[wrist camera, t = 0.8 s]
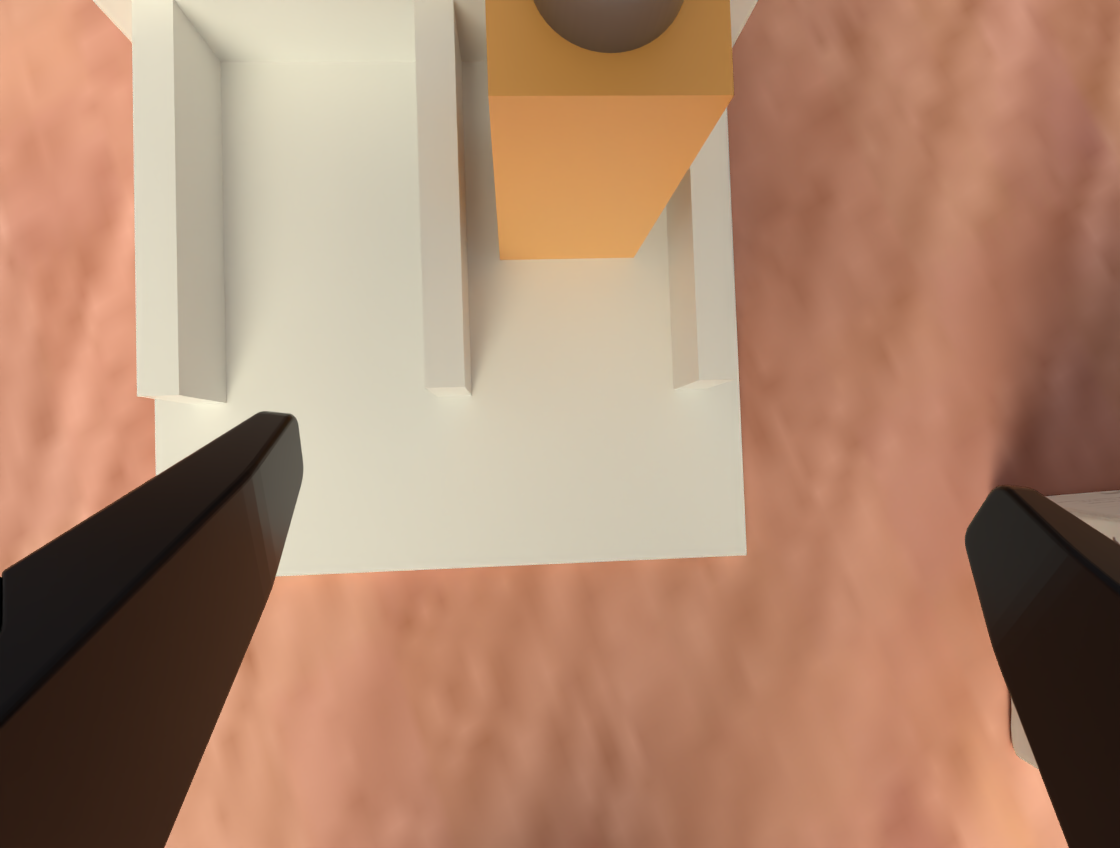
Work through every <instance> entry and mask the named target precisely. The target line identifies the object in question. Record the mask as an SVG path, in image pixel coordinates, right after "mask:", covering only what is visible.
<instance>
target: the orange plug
mask: <svg viewBox="0 0 1120 848" xmlns="http://www.w3.org/2000/svg"><path fill="white" fill-rule="evenodd" d="M485 9H486V41H487V72H488V99H489V113H490V127H491V141H492V155H493V169H494V183H495V197H496V211H497V225H498V239H499V253H500V260H530V259H585V258H634V256H635V255H636V253H637V252H638V250H639V248H640V247H641V245H642V243H643V242H644V240H645V239H646V237H647V235H648V234H649V232H650V231H651V229H652V227H653V226H654V224H655V222H656V221H657V219H658V218H659V216H660V214H661V213H662V211H663V209H664V208H665V206H666V205H667V203H668V201H669V200H670V198H671V197H672V195H673V193H674V192H675V190H676V188H677V187H678V185H679V184H680V182H681V180H682V179H683V177H684V175H685V174H686V172H687V171H688V169H689V167H690V166H691V164H692V162H693V161H694V159H695V158H696V156H697V154H698V153H699V151H700V150H701V148H702V146H703V145H704V143H705V141H706V140H707V138H708V137H709V135H710V133H711V132H712V130H713V128H714V127H715V125H716V124H717V122H718V120H719V119H720V117H721V115H722V114H723V112H724V111H725V109H726V107H727V106H728V104H729V103H730V101H731V99H732V98H733V96H734V84H733V61H732V38H731V16H730V0H485Z"/></svg>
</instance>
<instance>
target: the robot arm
mask: <svg viewBox="0 0 1120 848" xmlns="http://www.w3.org/2000/svg"><path fill="white" fill-rule="evenodd" d="M303 468H304V466H303V457H302V449H301V441H300V433H299V425H298V421H297V419H296V417H295V416H294V415H292V414H290V413H281V412H271V411H261V412H258V413H256V414H255V415H253V416H251V417H250V418H248V419H247V420H245V421H243V422H242V423H240V424H239V425H237V426H235V427H234V428H232V429H231V430H229V431H227V432H226V433H224V434H222V435H221V436H219V437H218V438H216V439H214V440H213V441H211V442H210V443H208V444H206V445H205V446H203V447H202V448H200V449H198V450H197V451H195V452H194V453H192V454H190V455H189V456H187V457H186V458H184V459H182V460H181V461H179V462H177V463H176V464H174V465H173V466H171V467H169V468H168V469H166V470H165V471H163V472H161V473H160V474H158V475H157V476H155V477H153V478H152V479H150V480H149V481H147V482H145V483H144V484H142V485H141V486H139V487H137V488H136V489H134V490H132V491H131V492H129V493H128V494H126V495H124V496H123V497H121V498H120V499H118V500H116V501H115V502H113V503H112V504H110V505H108V506H107V507H105V508H104V509H102V510H100V511H99V512H97V513H96V514H94V515H92V516H91V517H89V518H87V519H86V520H84V521H83V522H81V523H79V524H78V525H76V526H75V527H73V528H71V529H70V530H68V531H67V532H65V533H63V534H62V535H60V536H59V537H57V538H55V539H54V540H52V541H51V542H49V543H47V544H46V545H44V546H43V547H41V548H39V549H38V550H36V551H34V552H33V553H31V554H30V555H28V556H26V557H25V558H23V559H22V560H20V561H18V562H17V563H15V564H14V565H12V566H10V567H9V568H7V569H6V570H4V571H3V572H2V578H1V577H0V848H164V847H165V845H166V842H167V840H168V838H169V835H170V833H171V830H172V828H173V826H174V823H175V821H176V818H177V816H178V814H179V811H180V809H181V806H182V804H183V802H184V799H185V797H186V794H187V792H188V790H189V787H190V785H191V782H192V780H193V778H194V775H195V773H196V770H197V768H198V766H199V763H200V761H201V758H202V756H203V754H204V751H205V749H206V747H207V744H208V742H209V739H210V737H211V735H212V732H213V730H214V727H215V725H216V723H217V720H218V718H219V715H220V713H221V711H222V708H223V706H224V703H225V701H226V699H227V696H228V694H229V691H230V689H231V687H232V684H233V682H234V679H235V677H236V675H237V672H238V670H239V667H240V665H241V663H242V660H243V658H244V656H245V653H246V651H247V648H248V646H249V644H250V641H251V639H252V636H253V634H254V632H255V629H256V627H257V624H258V622H259V620H260V617H261V615H262V612H263V610H264V608H265V605H266V603H267V600H268V597H269V595H270V592H271V590H272V587H273V584H274V580H275V577H276V574H277V570H278V567H279V563H280V560H281V556H282V552H283V549H284V545H285V542H286V538H287V534H288V531H289V527H290V524H291V520H292V516H293V513H294V509H295V506H296V502H297V498H298V495H299V491H300V488H301V484H302V479H303ZM965 546H966V551H967V555H968V558H969V562H970V566H971V570H972V573H973V577H974V581H975V585H976V588H977V592H978V596H979V600H980V603H981V607H982V611H983V615H984V618H985V622H986V626H987V630H988V633H989V637H990V640H991V643H992V647H993V650H994V653H995V656H996V659H997V661H998V664H999V667H1000V670H1001V672H1002V675H1003V677H1004V680H1005V683H1006V685H1007V688H1008V691H1009V693H1010V696H1011V698H1012V701H1013V704H1014V706H1015V709H1016V711H1017V714H1018V717H1019V719H1020V722H1021V724H1022V727H1023V730H1024V732H1025V735H1026V737H1027V740H1028V743H1029V745H1030V748H1031V750H1032V753H1033V756H1034V758H1035V761H1036V763H1037V766H1038V769H1039V771H1040V774H1041V776H1042V779H1043V782H1044V784H1045V787H1046V789H1047V792H1048V795H1049V797H1050V800H1051V802H1052V805H1053V808H1054V810H1055V813H1056V815H1057V818H1058V821H1059V823H1060V826H1061V828H1062V831H1063V834H1064V836H1065V839H1066V841H1067V844H1068V847H1069V848H1120V545H1119V544H1118V543H1116V542H1115V541H1113V540H1112V539H1110V538H1109V537H1107V536H1105V535H1104V534H1102V533H1101V532H1099V531H1098V530H1096V529H1095V528H1093V527H1092V526H1090V525H1089V524H1087V523H1085V522H1084V521H1082V520H1081V519H1079V518H1078V517H1076V516H1075V515H1073V514H1072V513H1070V512H1068V511H1067V510H1065V509H1064V508H1062V507H1061V506H1059V505H1058V504H1056V503H1055V502H1053V501H1051V500H1050V499H1048V498H1047V497H1045V496H1044V495H1042V494H1041V493H1039V492H1038V491H1036V490H1034V489H1031V488H1028V487H1019V486H1009V485H1002V486H998V487H996V488H995V489H993V490H992V491H991V492H990V494H989V495H988V497H987V498H986V500H985V501H984V503H983V504H982V506H981V508H980V509H979V511H978V512H977V514H976V515H975V517H974V518H973V520H972V522H971V523H970V525H969V526H968V528H967V531H966V535H965Z"/></svg>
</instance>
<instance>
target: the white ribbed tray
mask: <svg viewBox="0 0 1120 848" xmlns="http://www.w3.org/2000/svg"><path fill="white" fill-rule="evenodd" d="M93 1H94V3H95V4H96V5H97V6H98V7H99V8H100V9H101V10H102V11H103V12H104V13H105V14H106V15H107V16H108V18H109V19H110V20H111V21H112V22H113V23H114V24H115V25H116V26H117V27H118V28H119V29H120V30H121V31H122V33H123V34H124V35H125V36H126V37H127V38H128V39H129V40H130V41H131V42H132V66H133V138H134V210H135V282H136V354H137V396H139V397H145V398H152V399H155V452H156V476H157V475H158V474H160V473H161V472H163V471H165V470H166V469H168V468H169V467H171V466H173V465H174V464H176V463H177V462H179V461H181V460H182V459H184V458H186V457H187V456H189V455H190V454H192V453H194V452H195V451H197V450H198V449H200V448H202V447H203V446H205V445H206V444H208V443H210V442H211V441H213V440H214V439H216V438H218V437H219V436H221V435H222V434H224V433H226V432H227V431H229V430H231V429H232V428H234V427H235V426H237V425H239V424H240V423H242V422H243V421H245V420H247V419H248V418H250V417H251V416H253V415H255V414H256V413H258V412H261V411H271V412H281V413H290V414H292V415H294V416H295V417H296V419H297V421H298V425H299V433H300V441H301V449H302V457H303V466H304V468H303V479H302V484H301V488H300V491H299V495H298V498H297V502H296V506H295V509H294V513H293V516H292V520H291V524H290V527H289V531H288V534H287V538H286V542H285V545H284V549H283V552H282V556H281V560H280V563H279V567H278V570H277V574H276V576H295V575H317V574H339V573H361V572H384V571H406V570H428V569H451V568H473V567H495V566H517V565H540V564H562V563H584V562H607V561H629V560H651V559H673V558H696V557H718V556H740V555H747V550H746V527H745V505H744V482H743V459H742V436H741V413H740V391H739V368H738V345H737V322H736V300H735V277H734V254H733V231H732V208H731V186H730V163H729V140H728V117H727V107H726V109H725V111H724V112H723V114H722V115H721V117H720V119H719V120H718V122H717V124H716V125H715V127H714V128H713V130H712V132H711V133H710V135H709V137H708V138H707V140H706V141H705V143H704V145H703V146H702V148H701V150H700V151H699V153H698V154H697V156H696V158H695V159H694V161H693V162H692V164H691V166H690V167H689V169H688V171H687V172H686V174H685V175H684V177H683V179H682V180H681V182H680V184H679V185H678V187H677V188H676V190H675V192H674V193H673V195H672V197H671V198H670V200H669V201H668V203H667V205H666V206H665V208H664V209H663V211H662V213H661V214H660V216H659V218H658V219H657V221H656V222H655V224H654V226H653V227H652V229H651V231H650V232H649V234H648V235H647V237H646V239H645V240H644V242H643V243H642V245H641V247H640V248H639V250H638V252H637V253H636V255H635V256H634V258H585V259H530V260H500V253H499V239H498V225H497V211H496V197H495V183H494V169H493V155H492V141H491V127H490V113H489V99H488V72H487V41H486V9H485V0H93ZM757 1H758V0H730V16H731V38H732V48H733V46H734V44H735V42H736V40H737V38H738V37H739V35H740V33H741V31H742V29H743V27H744V26H745V24H746V22H747V20H748V18H749V16H750V14H751V13H752V11H753V9H754V7H755V5H756V3H757Z"/></svg>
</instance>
